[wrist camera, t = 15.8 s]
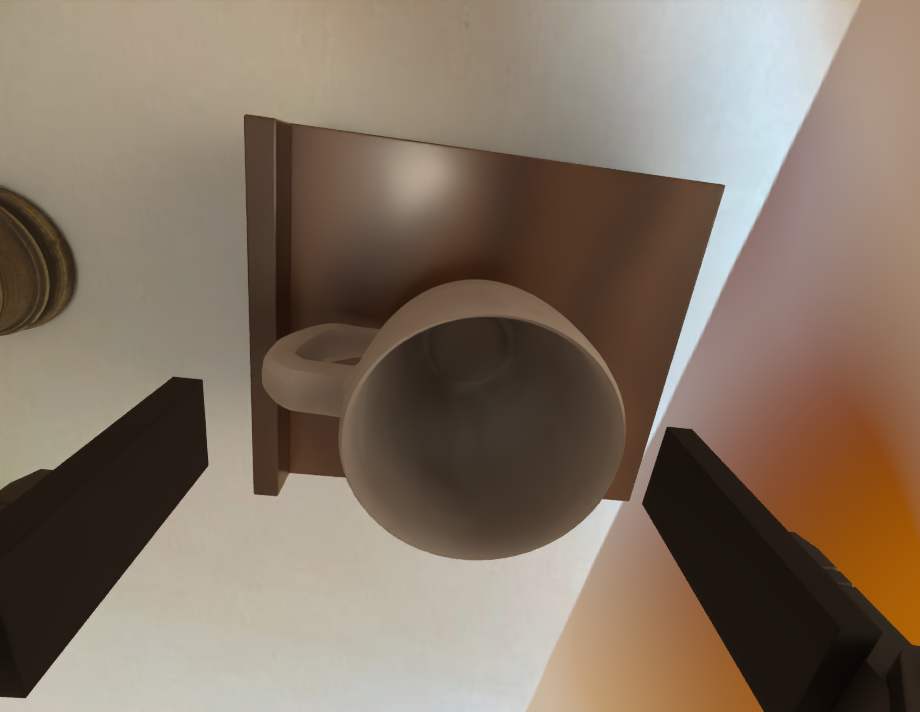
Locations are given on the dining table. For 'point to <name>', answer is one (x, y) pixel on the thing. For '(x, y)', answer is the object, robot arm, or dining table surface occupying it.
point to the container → (31, 266)
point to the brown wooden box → (459, 260)
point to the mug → (463, 417)
